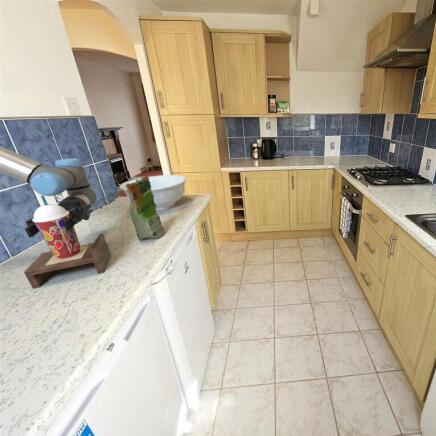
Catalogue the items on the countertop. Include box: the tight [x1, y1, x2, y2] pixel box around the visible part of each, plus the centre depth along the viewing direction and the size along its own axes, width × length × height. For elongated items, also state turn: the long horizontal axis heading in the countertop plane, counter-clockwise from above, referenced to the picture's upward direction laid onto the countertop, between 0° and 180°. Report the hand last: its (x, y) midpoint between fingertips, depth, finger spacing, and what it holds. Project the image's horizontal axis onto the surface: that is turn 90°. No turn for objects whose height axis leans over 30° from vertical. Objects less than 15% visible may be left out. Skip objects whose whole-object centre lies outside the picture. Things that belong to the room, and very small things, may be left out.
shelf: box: [23, 233, 112, 289], centre depth 80 cm, size 18×12×9 cm, turn 115°
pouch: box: [126, 176, 165, 241], centre depth 98 cm, size 11×12×25 cm
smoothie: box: [32, 195, 81, 259], centre depth 75 cm, size 8×8×20 cm
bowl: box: [119, 174, 187, 212], centre depth 135 cm, size 32×32×15 cm
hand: (47, 229), depth 71 cm, fingers closed on smoothie, 8 cm apart
